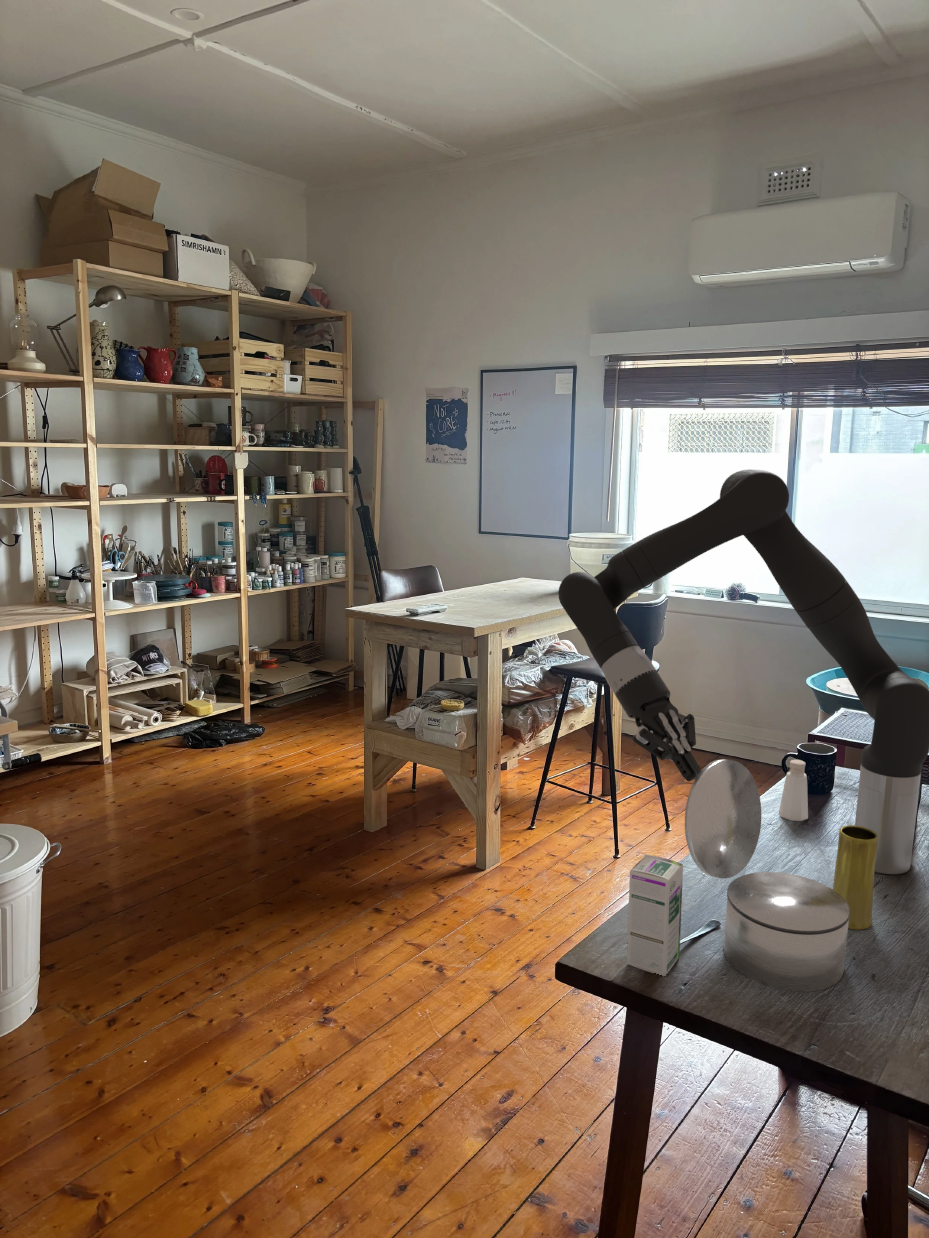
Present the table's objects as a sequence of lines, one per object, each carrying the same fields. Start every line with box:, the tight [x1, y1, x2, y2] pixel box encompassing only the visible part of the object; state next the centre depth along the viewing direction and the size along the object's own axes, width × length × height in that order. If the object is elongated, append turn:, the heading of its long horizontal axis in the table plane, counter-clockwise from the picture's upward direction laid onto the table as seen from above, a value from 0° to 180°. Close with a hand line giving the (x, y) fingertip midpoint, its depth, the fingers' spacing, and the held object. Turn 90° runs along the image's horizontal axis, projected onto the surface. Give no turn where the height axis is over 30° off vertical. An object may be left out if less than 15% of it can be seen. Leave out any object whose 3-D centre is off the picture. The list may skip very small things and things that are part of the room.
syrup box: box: [626, 854, 684, 977], centre depth 125 cm, size 6×6×14 cm
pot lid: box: [684, 758, 762, 880], centre depth 133 cm, size 17×17×3 cm
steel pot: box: [723, 871, 850, 993], centre depth 127 cm, size 16×16×9 cm
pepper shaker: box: [778, 759, 809, 822], centre depth 174 cm, size 5×5×11 cm
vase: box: [832, 824, 878, 931], centre depth 137 cm, size 6×6×14 cm
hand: (695, 777), depth 136 cm, fingers closed
